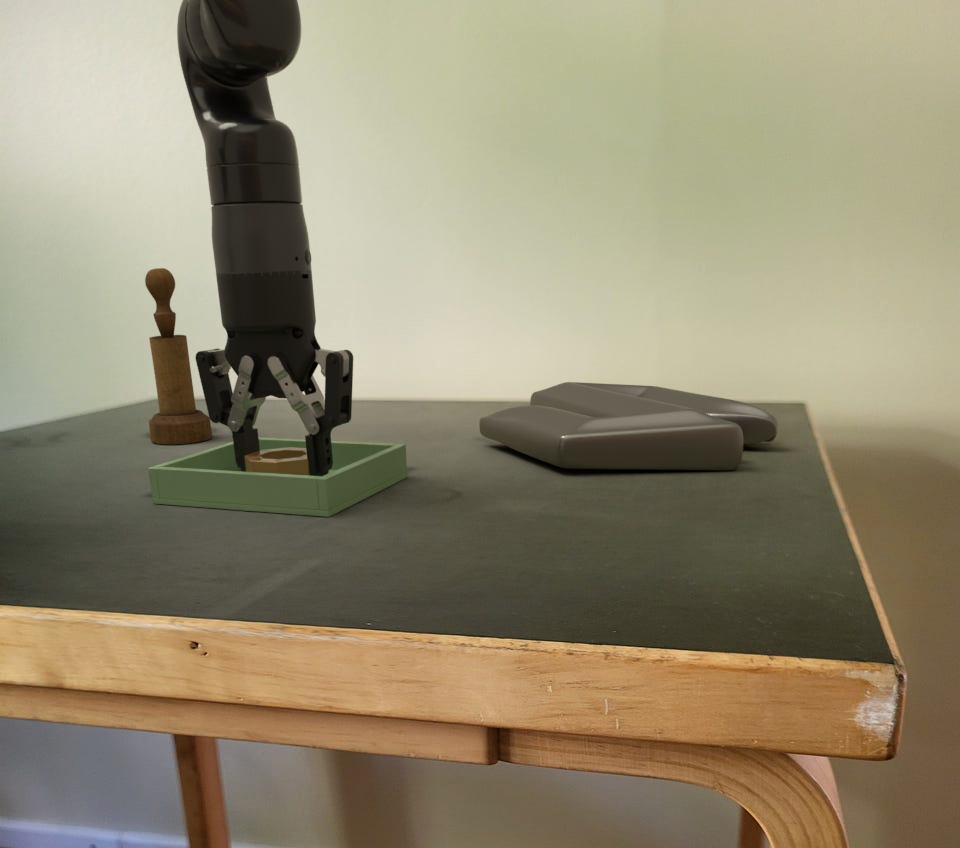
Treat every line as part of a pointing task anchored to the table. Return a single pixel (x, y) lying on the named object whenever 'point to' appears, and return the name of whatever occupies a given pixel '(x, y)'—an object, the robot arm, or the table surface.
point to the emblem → (630, 428)
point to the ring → (279, 461)
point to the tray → (279, 479)
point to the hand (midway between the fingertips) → (285, 474)
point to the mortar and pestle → (172, 373)
